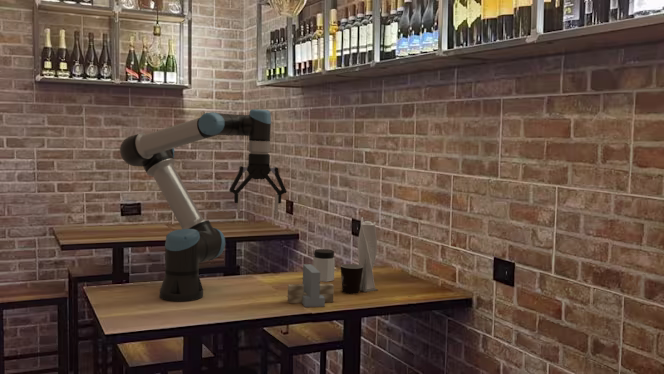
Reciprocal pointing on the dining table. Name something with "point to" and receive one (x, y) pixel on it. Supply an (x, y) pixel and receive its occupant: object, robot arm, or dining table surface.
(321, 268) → the jar
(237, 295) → the dining table surface
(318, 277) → the grey angular block
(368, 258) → the skyscraper
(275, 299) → the dining table surface
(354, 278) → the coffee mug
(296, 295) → the brown u-shaped block
